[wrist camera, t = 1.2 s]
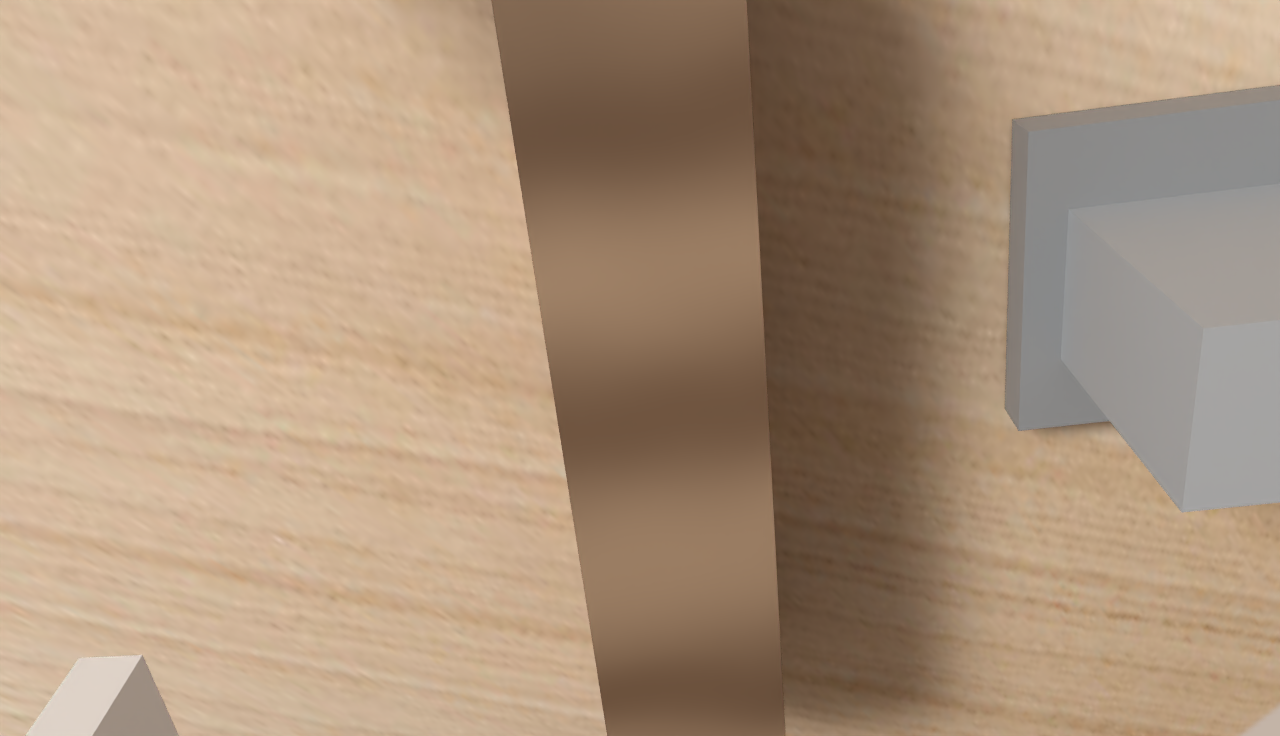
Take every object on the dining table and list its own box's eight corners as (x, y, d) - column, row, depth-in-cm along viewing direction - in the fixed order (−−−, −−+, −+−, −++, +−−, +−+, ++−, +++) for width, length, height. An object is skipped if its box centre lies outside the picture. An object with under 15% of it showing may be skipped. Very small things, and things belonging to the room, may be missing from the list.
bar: (765, 625, 32) (787, 780, 27) (621, 636, 33) (616, 791, 27) (717, -162, 23) (738, -162, 17) (513, -139, 23) (470, -132, 18)
